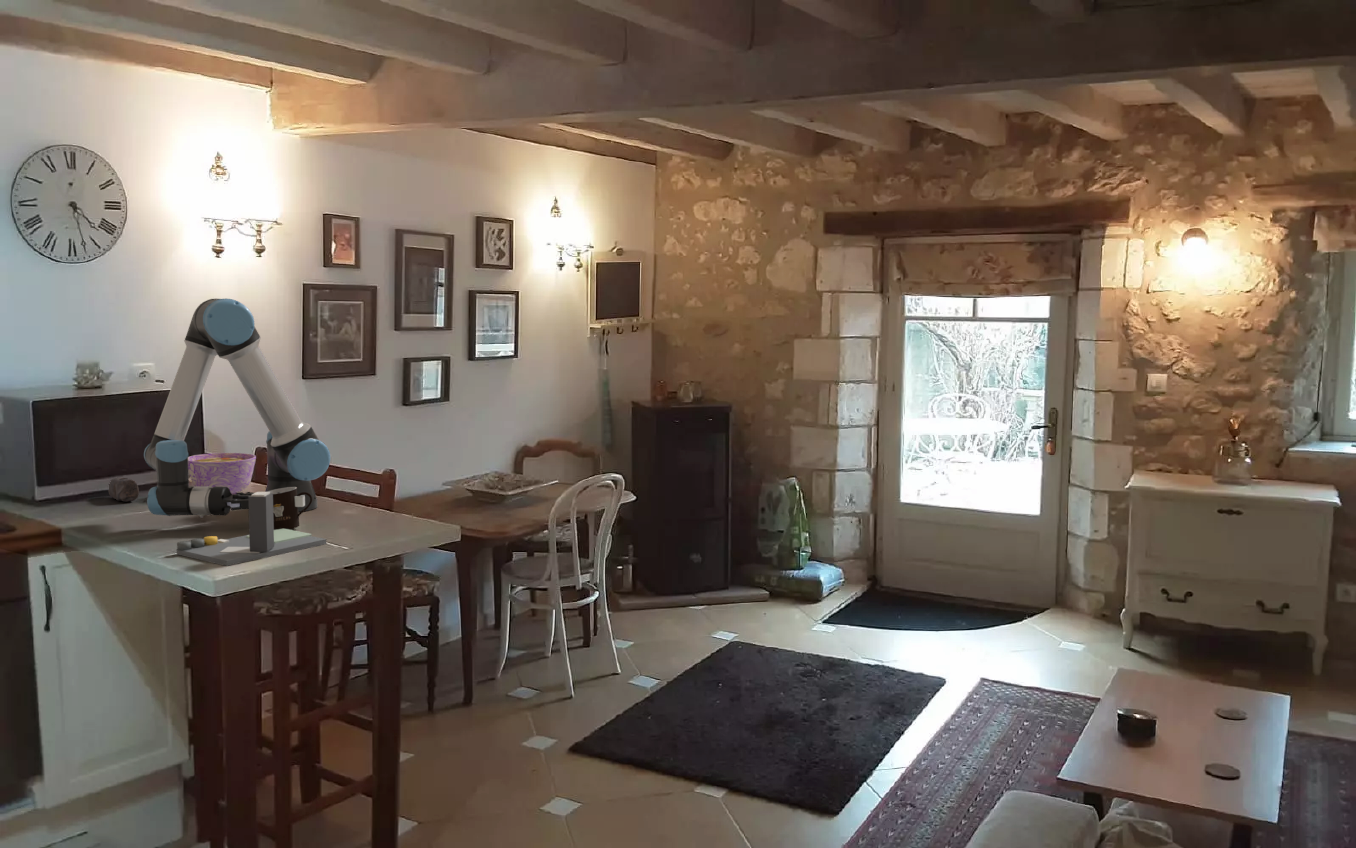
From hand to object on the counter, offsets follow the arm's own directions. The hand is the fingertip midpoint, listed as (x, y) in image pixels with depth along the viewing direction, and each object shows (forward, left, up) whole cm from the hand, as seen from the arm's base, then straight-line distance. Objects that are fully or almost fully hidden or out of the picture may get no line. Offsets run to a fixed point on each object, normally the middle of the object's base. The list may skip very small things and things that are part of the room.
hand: (303, 501), depth 284 cm
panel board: (+21, +8, -8) cm, 24 cm away
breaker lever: (+24, +15, -6) cm, 29 cm away
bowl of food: (-18, -60, -8) cm, 64 cm away
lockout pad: (+12, +6, -7) cm, 15 cm away
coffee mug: (+2, -2, -7) cm, 8 cm away
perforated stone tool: (+5, -75, -8) cm, 76 cm away
